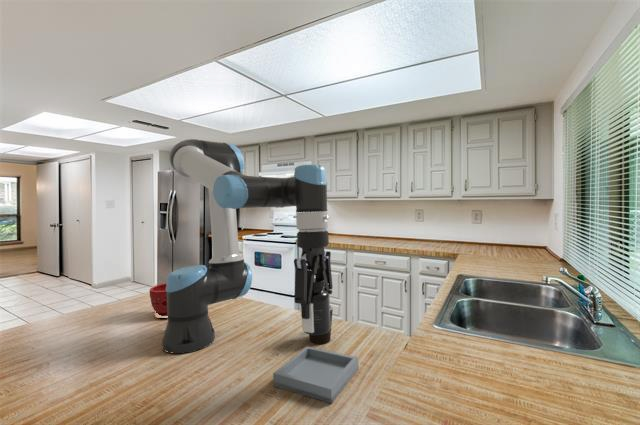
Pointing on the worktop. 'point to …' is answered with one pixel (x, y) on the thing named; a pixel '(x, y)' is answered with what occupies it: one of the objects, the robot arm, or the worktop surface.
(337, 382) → the slate tray
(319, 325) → the supplement bottle
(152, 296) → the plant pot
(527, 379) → the worktop surface
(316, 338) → the coffee mug
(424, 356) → the worktop surface
